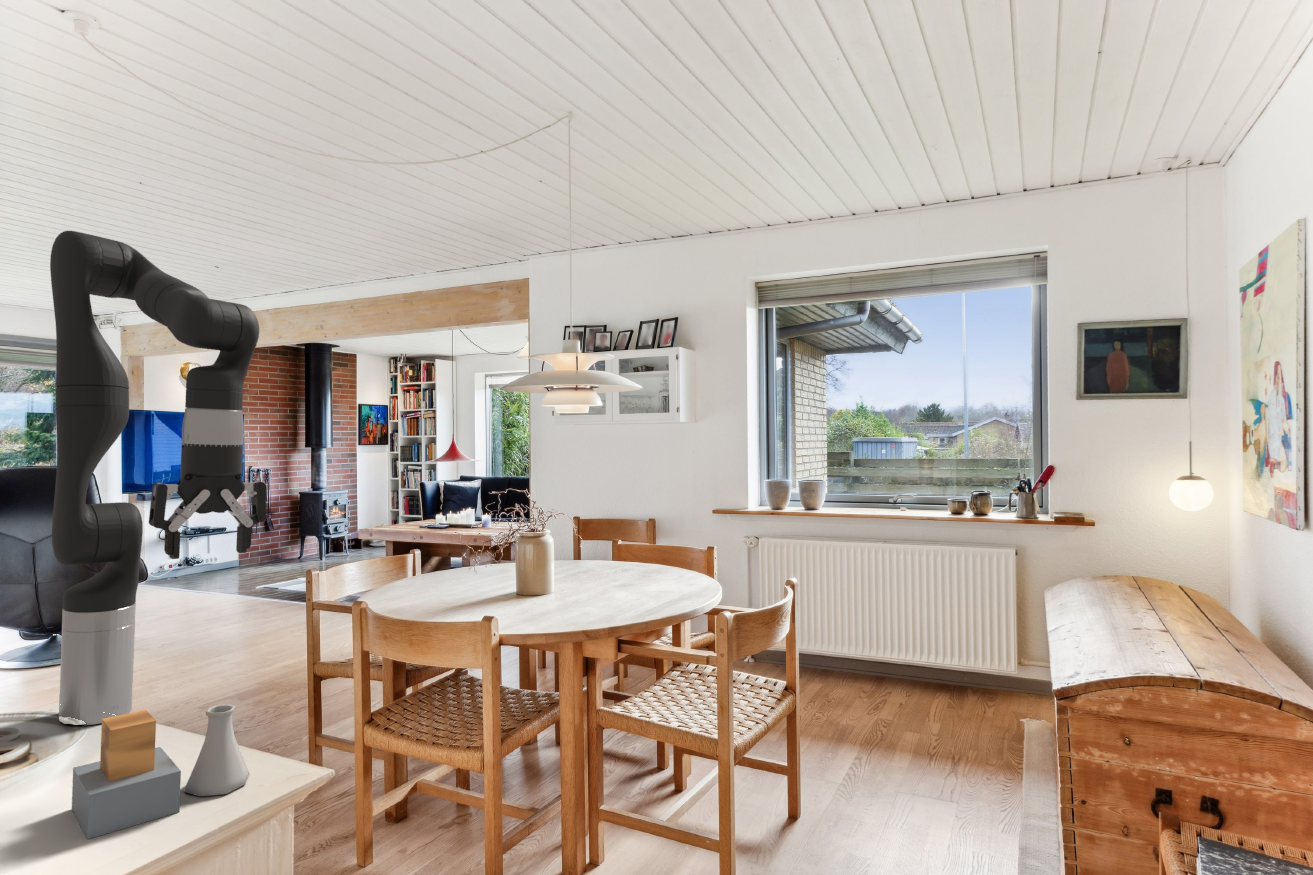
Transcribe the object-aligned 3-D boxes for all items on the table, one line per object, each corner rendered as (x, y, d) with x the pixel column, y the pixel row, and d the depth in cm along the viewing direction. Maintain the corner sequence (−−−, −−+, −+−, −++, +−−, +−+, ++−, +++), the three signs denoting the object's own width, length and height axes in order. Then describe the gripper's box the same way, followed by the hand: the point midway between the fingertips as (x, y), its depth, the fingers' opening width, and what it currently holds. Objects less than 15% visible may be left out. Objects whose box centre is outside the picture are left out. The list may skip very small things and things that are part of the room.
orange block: (100, 768, 91) (101, 718, 91) (144, 757, 94) (145, 709, 94) (109, 781, 88) (110, 730, 88) (154, 769, 91) (156, 720, 91)
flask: (229, 799, 95) (232, 720, 94) (171, 796, 95) (174, 717, 95) (260, 773, 102) (263, 699, 102) (206, 770, 102) (209, 697, 102)
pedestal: (71, 808, 91) (73, 767, 91) (158, 785, 97) (160, 746, 97) (87, 839, 85) (88, 794, 85) (179, 811, 91) (180, 770, 91)
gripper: (257, 440, 115) (252, 547, 115) (146, 439, 104) (142, 555, 105) (275, 443, 109) (271, 554, 110) (161, 441, 99) (157, 564, 99)
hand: (208, 555), depth 107 cm, fingers open, 8 cm apart
